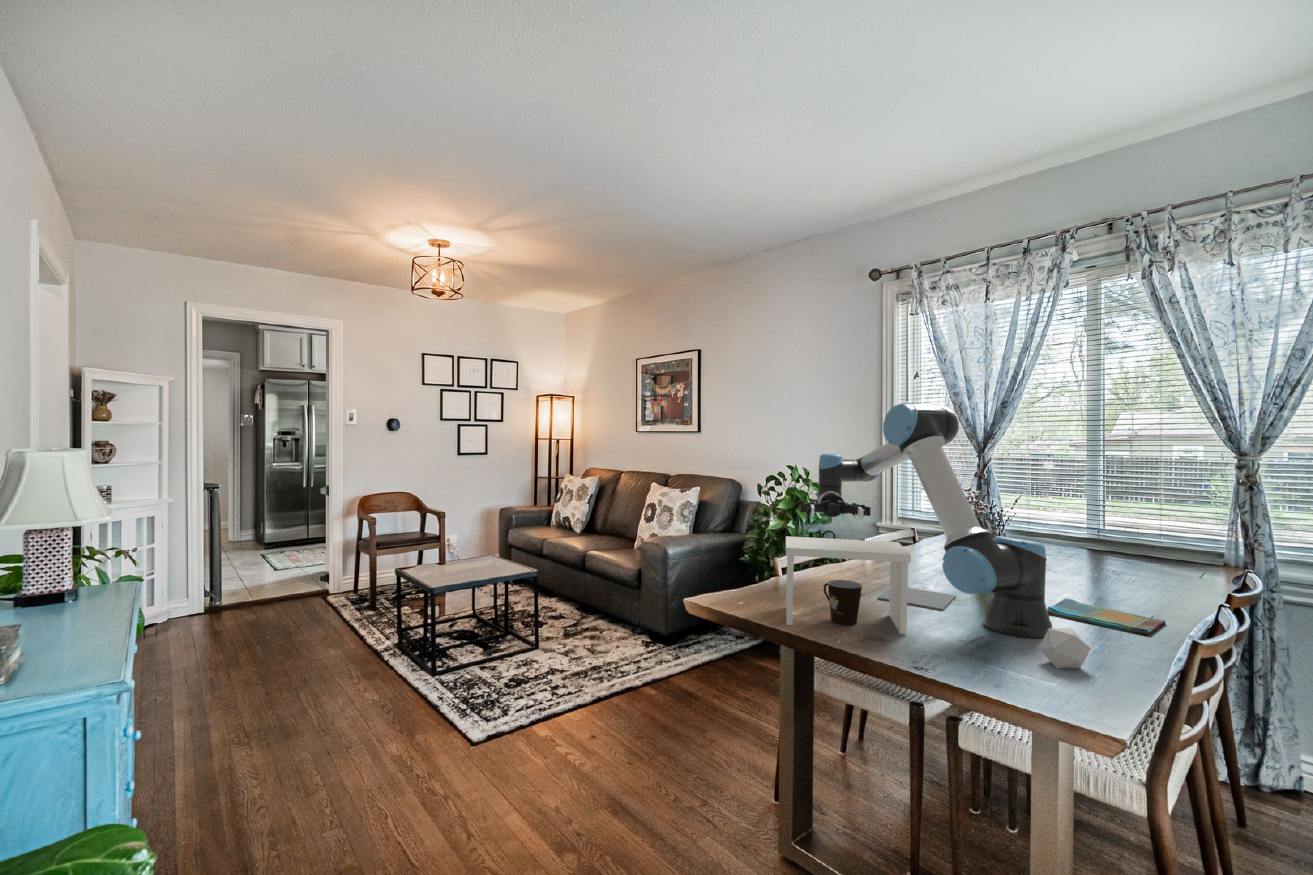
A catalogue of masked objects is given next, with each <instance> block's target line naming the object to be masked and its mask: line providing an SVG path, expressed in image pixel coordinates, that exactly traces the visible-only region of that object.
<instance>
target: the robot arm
mask: <svg viewBox="0 0 1313 875" xmlns="http://www.w3.org/2000/svg"><path fill="white" fill-rule="evenodd" d="M888 410H889V411H887V413H886V415H885V417H884V421H883V424H882V431H883V435H884V436H883V437H884V438H885V440H886V441H887V442H886V443H885V444H883V445H881V446H880V447H877V448H876V449H874V450H872V451H870V452H868V453H866V454H865V455H863V456H861V457H859V458H857V459H846V458H845V459H843V455H842V454H839V453H822V454H820V455H819V460H818V485H817V486H818V488H817V493H818V494H817V497H816V498H817V499H816V501H815V500H811V501H808V502H803V503H800V510H799V511H800V513H802V514H803V513H806V516H811V517H813V518H814V517H815V513H823V514H824V515H825V516H826V517H828V518H829V517H830V518H836V517H838V516H840V515H842V514H843V515H847V514H850V515H857V517H858V518H859V520H864V516H867V517H871V512H872V511H871V508H872V507H870V506H867V505H866V504H858V503H855V502H851V503H850V504H849V503H848V502H846V501H845V500H844V499H843V497H842V485H843V484H842V483H843V482H845V483H847V482H863V483H864V482H866V483H867V482H871V481H875V480H876V479H877V478H878V476H879V475H880V473H883V472H885V471H886V470H888V469H890V468H893V467H895V466H897V465H899V464H901V463H903V462H905V461H907V460H911V462H912V463H911V464H912V466H913V468H914V470H915V471H916V475H917V476H918V479H919V481H920V483H921V485H922V487H923V489H924V492H925V493H926V494H925V495H926V497H927V499H928V501H929V504H930V505H931V508H932V510H933V511H934V512H933V513H934V514H935V516H936V518H937V520H938V523H939V525H940V527H941V530H942V532H943V534H944V536H945V539H946V541H945V542H944V545H943V549H944V551H945V553H944V555H943V557H942V561H943V562H942V563H941V564H942V571H943V574H944V576H945V578H946V580H947V581H948V582H949V583H950V585H952V586H953V587H954V588H955V589H956V590H957V591H960V592H961V593H965V594H969V595H986V594H989V593H991V597H990V600H989V601H988V605H987V607H986V611H985V612H984V614H983V624H984V626H985V627H986V628H989V630H993V631H995V632H998V633H1001V634H1005V635H1009V636H1015V637H1021V638H1030V639H1042V638H1044V637H1045V635H1046V633H1047V631H1048V629H1049V628H1053V623H1052V621H1051V619H1050V615H1048V612H1047V609H1048V607H1047V605H1046V602H1045V600H1046V571H1047V570H1046V569H1047V567H1046V566H1047V565H1046V564H1047V560H1048V559H1047V553H1046V552H1047V551H1046V547H1045V545H1043V544H1042V543H1040V542H1037V541H1032V540H1027V539H1020V538H1015V537H1014V538H1013V537H1007V536H994V537H993V534H992V533H991V531H990V530H986V529H984V528H982V527H981V525H980V523H979V520H978V519H977V516H976V514H975V512H974V510H973V508H972V506H971V505H970V504H971V503H970V502H969V500H968V497H967V496H966V494H965V492H964V490H963V488H962V486H961V484H960V482H959V480H958V477H957V475H956V473H955V471H954V469H953V467H952V465H951V463H950V461H949V459H948V457H947V454H946V452H945V451H944V449H943V447H944V446H946V445H947V444H949V443H951V442H952V441H953V440H954V439H955V438H956V436H957V435H958V433H959V428H960V425H959V424H960V423H959V419H958V417H957V415H956V414H955V412H954V411H953V410H951V408H948V407H947V406H944V405H941V404H917V403H916V404H914V403H910V402H907V403H898V404H896V405H894V406H892V407H891V408H890V409H888Z"/></svg>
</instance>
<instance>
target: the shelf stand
mask: <svg viewBox="0 0 1313 875" xmlns="http://www.w3.org/2000/svg"><path fill="white" fill-rule="evenodd" d="M785 556H786V596H785V597H786V600H785V602H786V603H785V614H786V615H785V616H786V621H785V622H786V624H785V625H786V626H793V622H794V621H793V620H794V619H793V618H794V617H793V616H794V615H793V614H794V570H795V569H794V568H795V562H794V561H795V557H806V558H822V559H823V558H826V559H839V560H840V559H842V560H844V559H845V560H860V561H873V562H877V561H878V562H889V589H890V591H889V601H888V602H889V604H888V606H889V607H888V616H889V617H890V619H891V621H892V623H893V624H894V626H895V629H896V630H897V631H898V633H899V634H900V635H905V636H906V635H907V631H908V630H907V629H908V628H907V624H908V622H907V621H908V605H907V588H909V587H908V583H909V582H908V581H909V578H908V577H909V563H911V562H912V560H911V559H912V553H910V552H909V551H908V550H907V549H906V548H905V547H904V546H902V544H901V543H900V542H899V541H883V540H865V539H864V540H862V539H847V538H845V539H843V538H827V537H824V538H823V537H810V536H809V537H807V536H805V537H803V536H787V535H786V536H785Z"/></svg>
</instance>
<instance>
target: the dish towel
mask: <svg viewBox="0 0 1313 875" xmlns="http://www.w3.org/2000/svg"><path fill="white" fill-rule="evenodd" d="M1047 612H1048V615H1049V616H1052V617H1055V618H1056V617H1057V618H1061V619H1068V620H1072V621H1078V622H1082V623H1087V624H1091V625H1096V626H1099V625H1100V626H1099V627H1103V628H1104V627H1105V628H1109V629H1114V630H1118V631H1123V632H1127V633H1132V634H1136V635H1142V636H1146V637H1150V636H1152V635H1153V634H1155V633H1156V632H1157V631H1159V630H1160V629H1162V628H1163V625H1164V626H1165V625H1167V624H1166V620H1164V619H1160V618H1159V619H1158V618H1152V617H1148V616H1144V615H1139V614H1136V613H1132V612H1131V613H1130V612H1124V611H1120V610H1118V609H1112V608H1108V607H1101V606H1095V605H1091V604H1087V603H1083V602H1079V601H1076V600H1074V599H1072V598H1067V597H1066V598H1064V599H1062V600H1060V601H1059V602H1058V603H1055V604H1054V605H1052V606H1048V607H1047Z"/></svg>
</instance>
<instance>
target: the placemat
mask: <svg viewBox="0 0 1313 875" xmlns="http://www.w3.org/2000/svg"><path fill="white" fill-rule="evenodd" d="M889 591H890V588H889V589H888V590H886V591H884V592H883V593H882V594H880V595H879V596H877V600H880V601H886V602H889ZM956 598H957V595H956V594H949V593H943V592H939V591H931V590H926V589H919V588H915V587H914V588H913V587H908V588H907V606H914V607H919V608H924V609H931V610H936V611H941V612H943V611H945V610H946V609H947V607H949V605H950V604H951V603H952V602H953V601H954V600H955V599H956Z"/></svg>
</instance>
